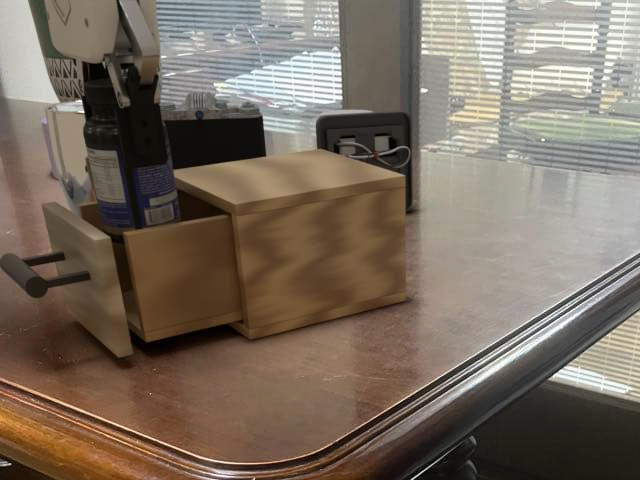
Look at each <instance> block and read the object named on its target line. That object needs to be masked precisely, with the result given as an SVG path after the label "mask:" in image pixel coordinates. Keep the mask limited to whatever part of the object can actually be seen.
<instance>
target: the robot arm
mask: <svg viewBox="0 0 640 480" xmlns="http://www.w3.org/2000/svg"><path fill="white" fill-rule="evenodd" d="M45 6H46V12H47V18H48V24H49V29H50V34H51V39H52V43H53V45H54V47H55V48H56V49H57V50H58V51H59V52H60V53H61V54H63V55H65V56H67V57H70V58H74V59H73V63H74V65H75V66H76V68H77V80H78V87H79V90H80V93H81V94H82V95H85V92H84V83H86V82H89V81H93V80H99V79H107V78H111V81H112V84H113V88H114V91H115V94H116V98H117V101H118V104H119V106H120V107H116V108H114V113H115V118H116V124H117V129H118V135H119V140H120V146H121V151H122V157H123V162H124V165H125V166H126V167H128V168H130V169H135V168H142V167H149V166H156V165H163V164H166V163H167V161H168V155H167V149H166V142H165V136H164V129H163V123H162V116H161V110H160V103H161V100H162V97H161V98H160V93H159V89H158V86H157V83H158V79H159V75H157V72H158V71H157V69H158V64H159V59H160V52H159V47H160V48H161V40H159V38H160V31H159V30H160V29H159V19H158V11H157V12H156V7H157V4H156V5H155V0H45ZM117 52H119V53H122V54H126V55H118V56H117ZM102 61H105V67H104V65H103V63H102ZM125 69H128V72H127V78H126V83H125V80H124V76H123V73H122V70H125ZM81 99H82V104H83V109H84V114H85V119H86V121H87V120H88V119H89V118H91V117H92V116H93V114H92V109H91V106H90V105H88V103H87V101H86V97H85V96H81Z"/></svg>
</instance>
